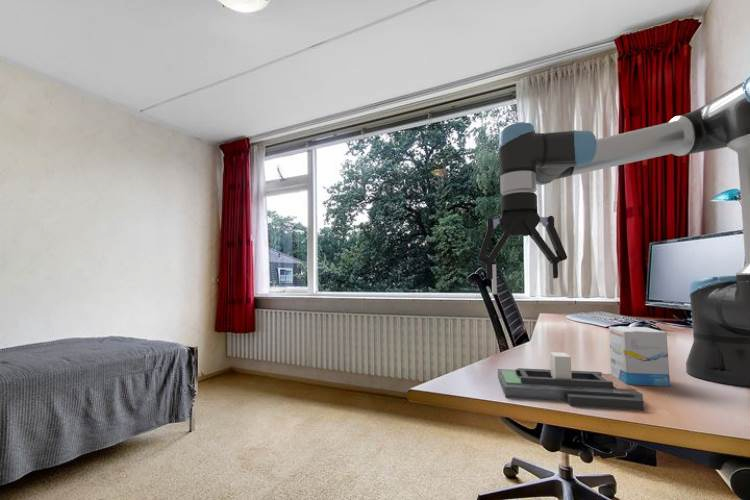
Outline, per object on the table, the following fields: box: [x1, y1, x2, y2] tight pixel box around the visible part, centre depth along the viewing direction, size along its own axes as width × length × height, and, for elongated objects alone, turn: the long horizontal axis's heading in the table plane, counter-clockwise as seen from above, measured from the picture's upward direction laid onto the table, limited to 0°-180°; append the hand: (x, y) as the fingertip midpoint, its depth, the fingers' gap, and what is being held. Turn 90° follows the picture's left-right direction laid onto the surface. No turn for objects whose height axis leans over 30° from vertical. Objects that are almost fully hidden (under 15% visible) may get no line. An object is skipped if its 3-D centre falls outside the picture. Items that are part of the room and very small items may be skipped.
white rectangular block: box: [549, 351, 572, 379], centre depth 76 cm, size 3×4×5 cm
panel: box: [497, 368, 644, 402], centre depth 76 cm, size 24×14×3 cm, turn 77°
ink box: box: [608, 325, 671, 387], centre depth 83 cm, size 9×8×12 cm
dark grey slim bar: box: [517, 367, 604, 374], centre depth 85 cm, size 18×2×2 cm, turn 77°
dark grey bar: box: [567, 394, 645, 411], centre depth 66 cm, size 12×2×2 cm, turn 77°
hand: (522, 294), depth 79 cm, fingers open, 11 cm apart
